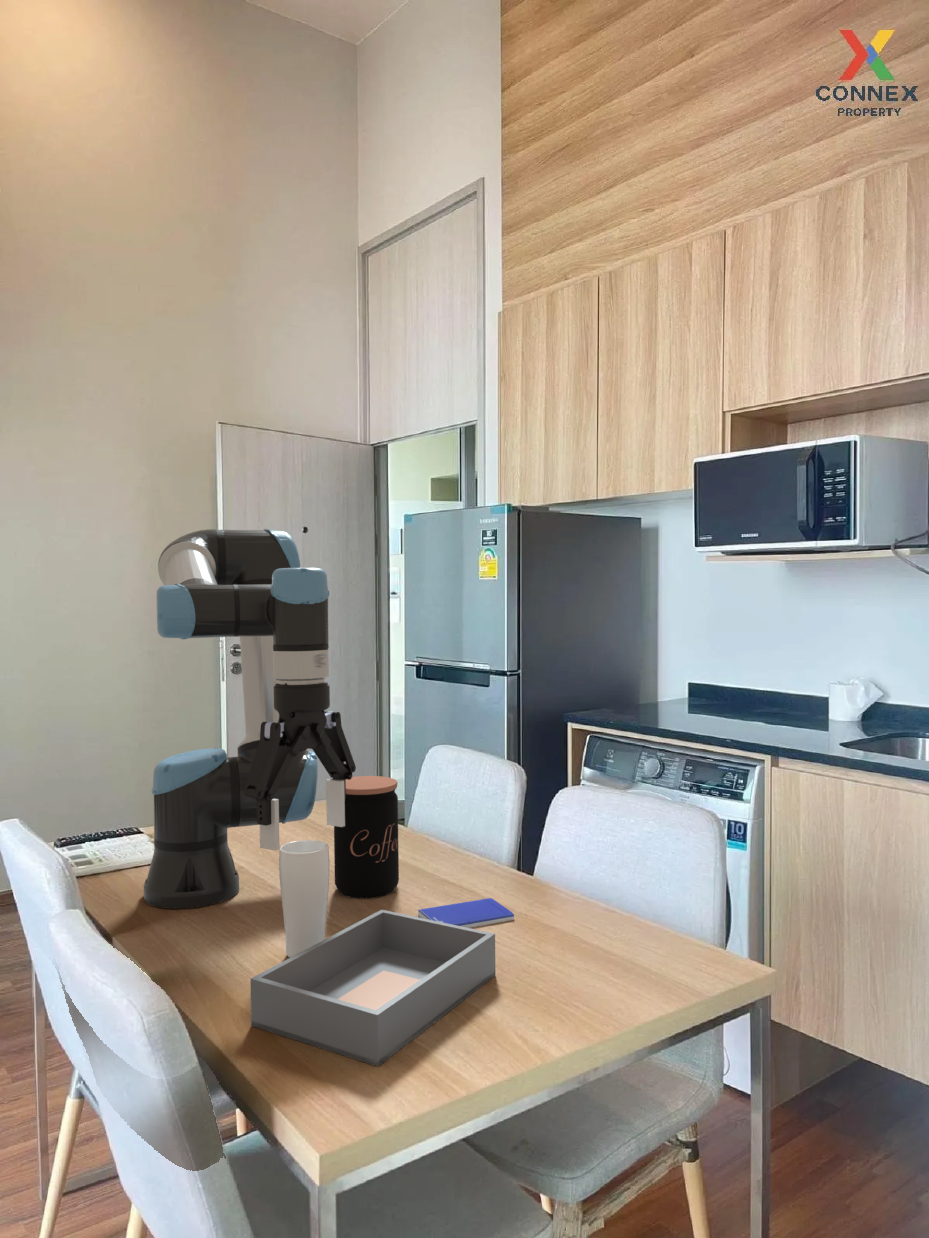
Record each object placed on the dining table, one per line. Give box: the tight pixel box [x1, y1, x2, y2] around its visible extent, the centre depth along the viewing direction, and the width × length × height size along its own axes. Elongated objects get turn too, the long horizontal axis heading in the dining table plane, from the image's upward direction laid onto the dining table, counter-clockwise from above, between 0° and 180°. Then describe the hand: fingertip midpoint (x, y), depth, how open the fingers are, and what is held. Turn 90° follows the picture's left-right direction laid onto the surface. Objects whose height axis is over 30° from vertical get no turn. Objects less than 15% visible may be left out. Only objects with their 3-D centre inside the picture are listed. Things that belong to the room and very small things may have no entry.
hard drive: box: [417, 897, 515, 929], centre depth 137 cm, size 2×8×12 cm
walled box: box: [250, 909, 496, 1068], centre depth 110 cm, size 18×26×6 cm
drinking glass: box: [278, 839, 330, 959], centre depth 124 cm, size 7×7×15 cm
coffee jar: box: [333, 775, 400, 899], centre depth 151 cm, size 11×11×18 cm
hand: (304, 836), depth 123 cm, fingers open, 13 cm apart
